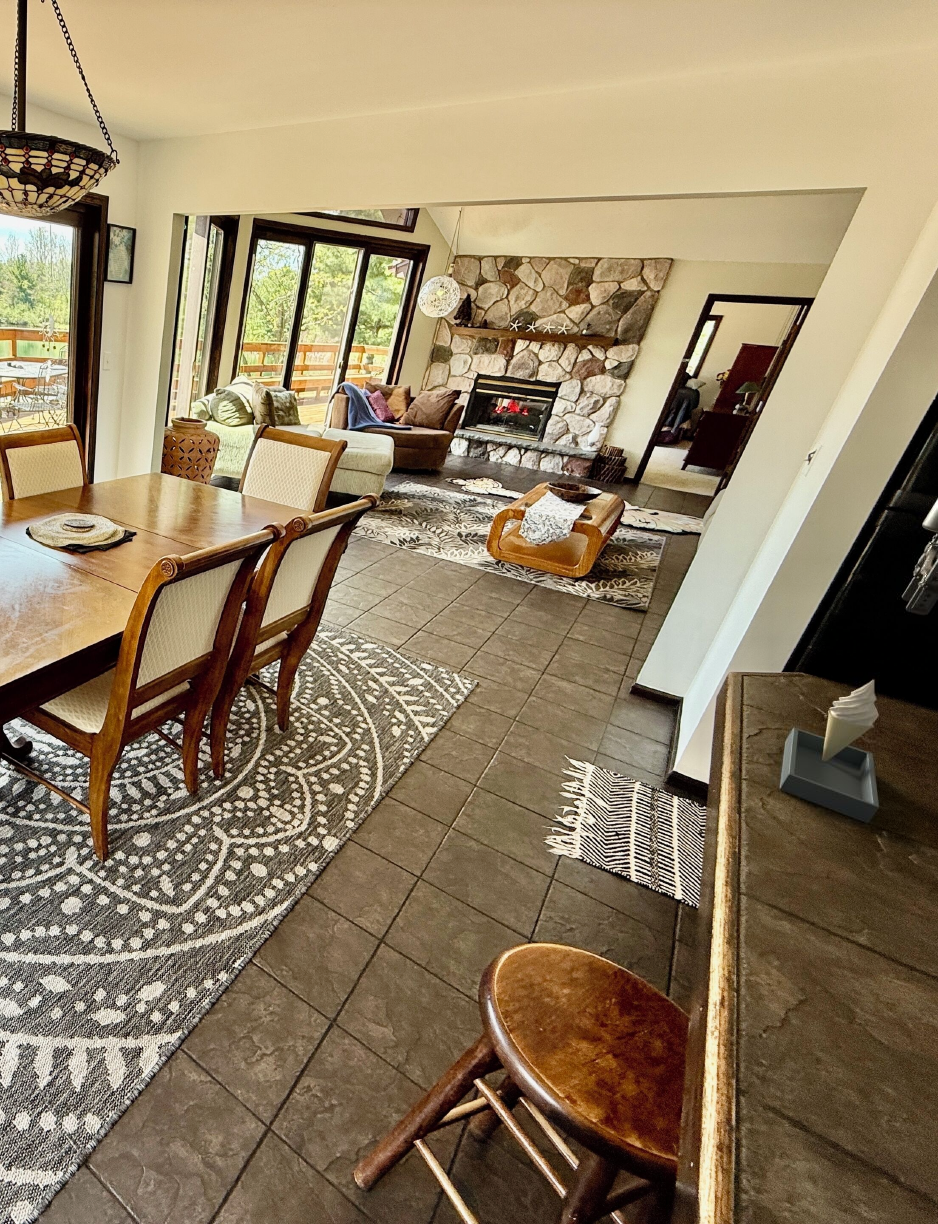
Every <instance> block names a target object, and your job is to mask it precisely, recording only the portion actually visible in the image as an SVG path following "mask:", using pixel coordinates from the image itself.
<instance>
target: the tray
mask: <svg viewBox="0 0 938 1224" xmlns="http://www.w3.org/2000/svg"><path fill="white" fill-rule="evenodd" d="M824 743H825V737H824V736H821V735H819V734H816V733H812V732H809V731H806V730H803V729H801V728H797V727H793V728H792V729H791V731H790V732H789V734H788V736H787V738H786V739H785V741H784V750H783V756H782V758H783V759H782V765H781V773H780V781H779V782H780V783H779V790H780V791H783V792H784V793H787V794H790V795H793V796H795V797H798V798H800V799H803V800H805V801H808V802H811V803H814V804H816V805H818V806H821V807H824V808H827V809H829V810H832V811H834V812H837V813H840V814H842V815H844V816H847V817H850V818H851V819H852V818H853V819H854V820H858V821H860V822H863V823H865V824H869V823H870V821H871V820H872V819H873V817H874V816H875V814H876V813H877V811H878V810H879V809H880V804H879V794H878V789H877V788H878V787H877V779H876V771H875V762H874V755H873V753H872V752H869V751H866V750H863V749H861V748H857V747H855V746H851V745H847V746H846V747H845V748H843V749H842V750H841V751H839V752H838V753H837V754H835V755H834V756H833V757H831V758H830V759H829V760H827V761H826V762H825V761H823V760H822V757H823V750H824Z"/></svg>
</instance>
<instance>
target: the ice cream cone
mask: <svg viewBox="0 0 938 1224" xmlns="http://www.w3.org/2000/svg"><path fill="white" fill-rule="evenodd" d="M876 701H877V697H876V694H875V679H872V680H871V681H869V682H868V683H866V684H864V685H863V686H861V687H859V688H857V689H855V690H854V691H851V692H850V695H849V696H842V697H838V700H834V701H833V702H832V705H833V706H832V707H829V710H828V711H827V713H828V717H827V723H826V731H825V737H824V738H825V743H824V750H823V757H822V760H823V761H825V762H826V761H827V760H829V759H830V758H831V757H833V756H834V755H835V754H837V753H838V752H839V751H841V750H842V749H843V748H845V747H846V746H847V745H848V746H850V745H851V744H852V743H853V742H855V740H857V739H858V738H860V737H861V736H862V735H863V734H865V733H866V732H867V731H869V730H870V729H873V728H874V727H875V725H874V723H875V721H876V720H877V719H878V717H879V712H878V709H877V708H876V705H875V702H876Z"/></svg>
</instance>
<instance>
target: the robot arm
mask: <svg viewBox="0 0 938 1224" xmlns="http://www.w3.org/2000/svg"><path fill="white" fill-rule="evenodd" d="M922 528H924V529H925V530H928V531H931V532H934V533H936V534H935V535H934V536H933V537H932V540H931V541H929V542H928V544H927V545H926V546H925V548H924V551H923V553H922V555H921V556H920V558H919V559H918V562H917V564H916V565H915V566H914V570H913V576H914V577H913V578H912V579H911V581H910V583H908V586H907V588H906V589H905V591H904V592H903V594H902V595H901V598H902V600H903V601H905V602H908V604H906V607H905V610H906V612H908V613H912V614H917V615H921V616H926V615H929V613H930V612H931V611H932V609H933V608H934V606H935V605H936V603H937V601H938V498H937V499H936V501H935V503H933V505H932V507H931V509H930V511H929V512H928V514H927V516H926V517H925V519H924V520H923V522H922Z"/></svg>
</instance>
